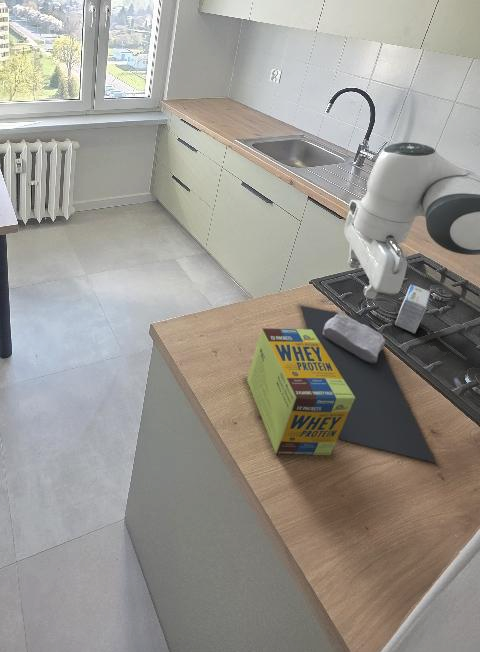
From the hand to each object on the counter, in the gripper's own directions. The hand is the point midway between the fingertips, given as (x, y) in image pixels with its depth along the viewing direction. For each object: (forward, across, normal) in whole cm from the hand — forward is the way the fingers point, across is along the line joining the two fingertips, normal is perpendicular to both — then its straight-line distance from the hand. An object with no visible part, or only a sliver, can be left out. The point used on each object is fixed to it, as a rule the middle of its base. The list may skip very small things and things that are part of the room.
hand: (360, 280), depth 86 cm
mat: (+23, -1, -5) cm, 24 cm away
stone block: (+23, +8, -7) cm, 26 cm away
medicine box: (+23, +19, -23) cm, 38 cm away
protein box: (+23, -16, +12) cm, 31 cm away
